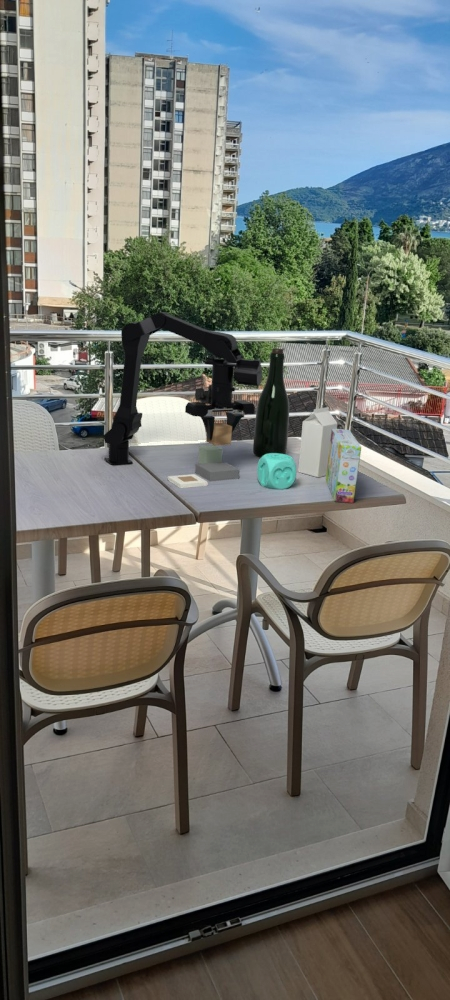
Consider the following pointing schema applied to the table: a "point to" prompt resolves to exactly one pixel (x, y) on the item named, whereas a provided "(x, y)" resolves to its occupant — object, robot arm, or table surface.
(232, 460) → the table surface
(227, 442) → the walnut cube
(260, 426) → the green wine bottle
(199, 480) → the tile
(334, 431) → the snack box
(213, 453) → the sage cube
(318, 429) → the milk carton
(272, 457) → the decorative dice
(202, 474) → the charcoal base block
